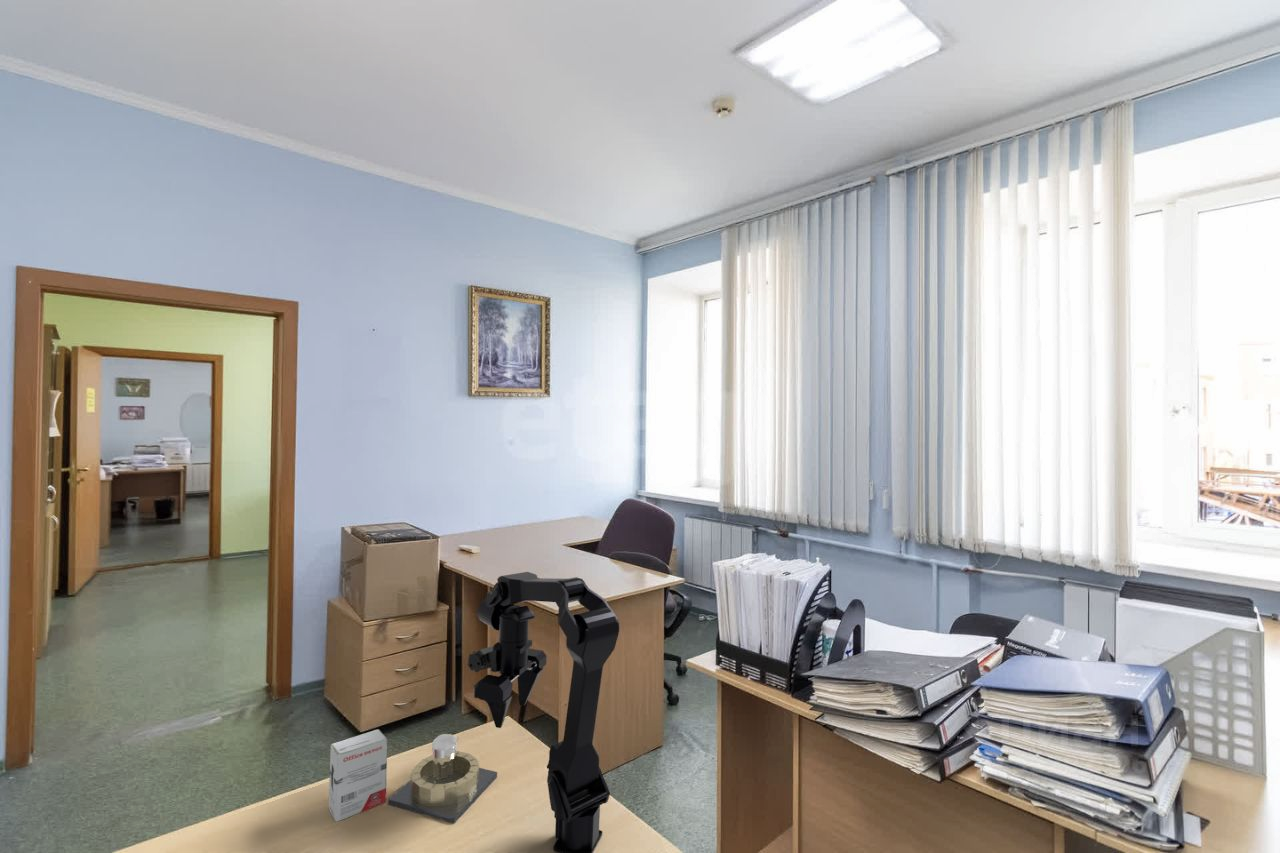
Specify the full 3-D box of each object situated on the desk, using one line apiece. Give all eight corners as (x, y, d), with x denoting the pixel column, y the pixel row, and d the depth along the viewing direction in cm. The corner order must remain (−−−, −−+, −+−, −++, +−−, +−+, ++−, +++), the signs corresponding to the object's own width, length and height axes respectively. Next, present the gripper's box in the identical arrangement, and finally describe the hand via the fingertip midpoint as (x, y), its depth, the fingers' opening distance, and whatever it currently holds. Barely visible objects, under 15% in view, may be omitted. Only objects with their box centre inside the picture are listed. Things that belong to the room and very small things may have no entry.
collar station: (497, 777, 114) (497, 756, 114) (454, 823, 101) (455, 800, 101) (436, 762, 119) (437, 742, 119) (388, 804, 105) (388, 782, 105)
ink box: (377, 789, 109) (379, 726, 109) (386, 802, 106) (388, 738, 106) (327, 808, 104) (329, 742, 104) (335, 823, 100) (337, 755, 100)
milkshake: (451, 795, 107) (453, 741, 107) (425, 790, 108) (427, 736, 108) (464, 780, 111) (466, 728, 111) (438, 775, 112) (440, 724, 112)
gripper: (502, 617, 126) (499, 688, 126) (450, 648, 108) (447, 731, 108) (548, 624, 123) (546, 697, 123) (503, 657, 105) (499, 743, 105)
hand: (510, 715), depth 115 cm, fingers open, 9 cm apart
